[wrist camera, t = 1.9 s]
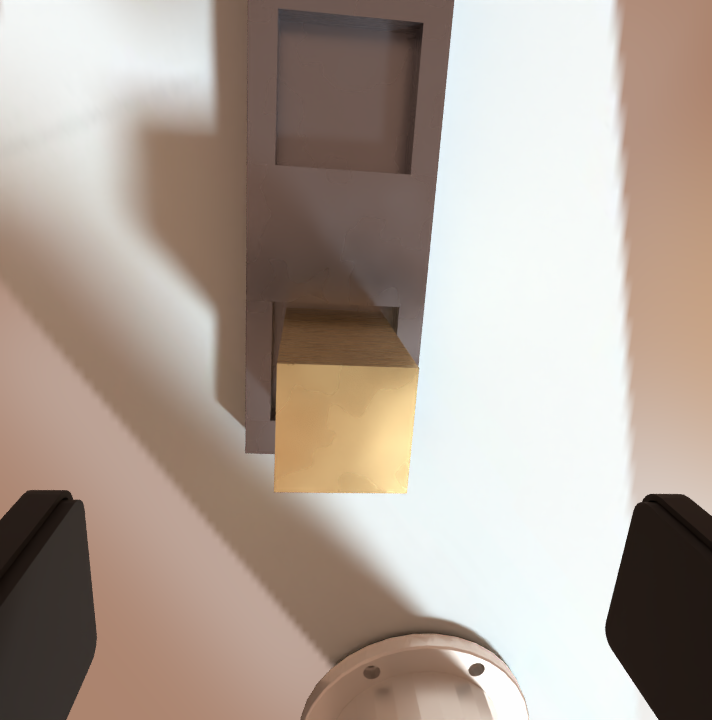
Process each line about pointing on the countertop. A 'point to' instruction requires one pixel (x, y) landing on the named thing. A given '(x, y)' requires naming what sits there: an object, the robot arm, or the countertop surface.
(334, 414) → the wooden block
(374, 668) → the robot arm
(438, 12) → the grey slotted board
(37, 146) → the countertop surface
